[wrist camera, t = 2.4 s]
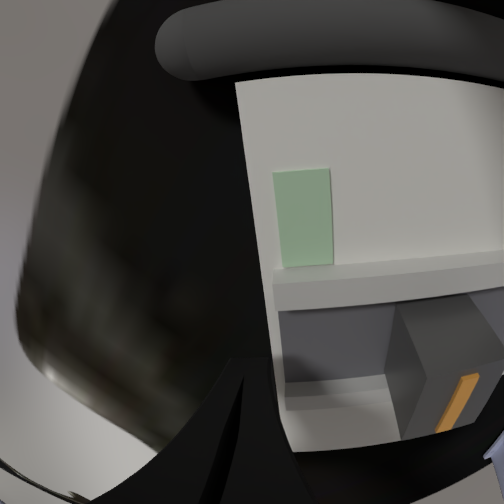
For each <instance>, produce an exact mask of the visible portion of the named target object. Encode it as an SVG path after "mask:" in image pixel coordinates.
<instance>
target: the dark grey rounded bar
mask: <svg viewBox="0 0 504 504" xmlns="http://www.w3.org/2000/svg"><path fill="white" fill-rule="evenodd" d="M155 52H156V56H157V59H158V61H159V63H160V64H161V66H162V67H163V68H164V69H165V70H166V71H167V72H168V73H169V74H171V75H173V76H175V77H177V78H179V79H183V80H189V81H197V80H205V79H211V78H216V77H222V76H228V75H234V74H240V73H247V72H255V71H263V70H272V69H282V68H293V67H307V66H328V65H377V66H398V67H412V68H423V69H432V70H440V71H448V72H455V73H461V74H467V75H473V76H478V77H483V78H488V79H493V80H497V81H502V82H504V20H503V19H500V18H497V17H494V16H491V15H488V14H485V13H482V12H478V11H475V10H471V9H468V8H464V7H460V6H456V5H452V4H448V3H443V2H439V1H434V0H222V1H217V2H212V3H207V4H203V5H198V6H194V7H190V8H186V9H184V10H181V11H179V12H177V13H175V14H173V15H172V16H170V17H169V18H168V19H167V20H166V21H165V22H164V23H163V25H162V26H161V27H160V29H159V31H158V33H157V36H156V41H155Z"/></svg>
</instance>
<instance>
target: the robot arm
mask: <svg viewBox="0 0 504 504" xmlns="http://www.w3.org/2000/svg"><path fill="white" fill-rule="evenodd" d="M483 457H484V459H487V458H489V457H491V459H492V462H493V465H494V468H495V471H496V475H497V478H498V481H499V484H500V489H501V492H502V496H503V499H504V431H503V432H502V433H501V435H500V436H499V437H498V438H497V440H496V441H495V442H494V443H493V445H492V446H491V447H490V448H489V449H488V451H487V452H486V453H485V454H484V455H483ZM0 504H5V503H4V502H3V501H1V500H0ZM86 504H319V503H318V501H317V500H316V498H315V496H314V494H313V492H312V490H311V489H310V487H309V485H308V483H307V481H306V479H305V477H304V475H303V473H302V471H301V469H300V467H299V465H298V463H297V461H296V458H295V456H294V454H293V451H292V449H291V447H290V444H289V441H288V439H287V436H286V433H285V430H284V428H283V425H282V422H281V418H280V415H279V412H278V408H277V404H276V388H275V381H274V373H273V366H272V360H271V359H270V358H268V357H257V358H230V359H229V360H228V362H227V364H226V366H225V368H224V369H223V371H222V373H221V375H220V376H219V378H218V380H217V381H216V383H215V384H214V386H213V387H212V389H211V391H210V392H209V393H208V395H207V396H206V398H205V399H204V401H203V402H202V404H201V405H200V406H199V408H198V409H197V411H196V412H195V413H194V414H193V416H192V417H191V418H190V419H189V421H188V422H187V423H186V424H185V426H184V427H183V428H182V429H181V430H180V432H179V433H178V434H177V435H176V436H175V437H174V438H173V439H172V440H171V441H170V442H169V443H168V444H167V445H166V447H165V448H164V449H163V450H161V451H160V452H159V453H158V454H157V455H156V456H155V457H154V458H153V459H152V460H151V461H149V462H148V463H147V464H146V465H145V466H144V467H142V468H141V469H140V470H138V471H137V472H136V473H134V474H133V475H132V476H130V477H129V478H127V479H126V480H125V481H123V482H122V483H120V484H119V485H118V486H116V487H114V488H113V489H111V490H110V491H108V492H106V493H104V494H102V495H101V496H99V497H97V498H95V499H93V500H91V501H90V502H88V503H86Z"/></svg>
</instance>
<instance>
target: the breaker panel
mask: <svg viewBox="0 0 504 504" xmlns="http://www.w3.org/2000/svg"><path fill="white" fill-rule="evenodd" d="M235 87H236V94H237V101H238V108H239V115H240V122H241V129H242V136H243V143H244V150H245V157H246V164H247V171H248V178H249V186H250V193H251V200H252V207H253V215H254V222H255V229H256V236H257V244H258V251H259V259H260V266H261V273H262V281H263V288H264V296H265V303H266V311H267V318H268V326H269V334H270V341H271V349H272V357H273V364H274V372H275V380H276V387H277V395H278V403H279V411H280V418H281V422H282V425H283V428H284V430H285V433H286V436H287V439H288V441H289V444H290V447H291V449H292V451H293V452H306V451H323V450H335V449H346V448H355V447H363V446H370V445H377V444H383V443H389V442H395V441H400V440H401V439H400V434H399V429H398V425H397V421H396V416H395V412H394V408H393V404H392V400H391V396H390V392H389V388H388V384H387V380H386V376H385V373H384V367H385V362H386V357H387V352H388V347H389V341H390V336H391V330H392V324H393V318H394V311H395V304H396V303H398V302H407V301H415V300H423V299H431V298H438V297H446V296H453V295H459V294H466V293H467V294H468V295H469V297H470V298H471V299H472V301H473V302H474V303H475V305H476V306H477V308H478V309H479V310H480V312H481V313H482V314H483V316H484V317H485V319H486V320H487V322H488V323H489V324H490V326H491V327H492V329H493V330H494V332H495V333H496V335H497V336H498V338H499V339H500V341H501V342H502V344H503V345H504V89H502V88H497V87H492V86H487V85H482V84H477V83H471V82H465V81H458V80H451V79H443V78H434V77H425V76H413V75H398V74H372V73H341V74H314V75H298V76H286V77H276V78H266V79H258V80H250V81H243V82H236V83H235ZM503 374H504V371H503V373H502V375H503Z"/></svg>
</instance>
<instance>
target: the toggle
mask: <svg viewBox="0 0 504 504" xmlns="http://www.w3.org/2000/svg"><path fill="white" fill-rule="evenodd" d="M503 371H504V345H503V344H502V342H501V341H500V339H499V338H498V336H497V335H496V333H495V332H494V330H493V329H492V327H491V326H490V324H489V323H488V322H487V320H486V319H485V317H484V316H483V314H482V313H481V312H480V310H479V309H478V308H477V306H476V305H475V303H474V302H473V301H472V299H471V298H470V297H469V295H468V294H467V293H466V294H459V295H453V296H446V297H438V298H431V299H423V300H415V301H407V302H398V303H396V304H395V311H394V318H393V324H392V330H391V336H390V341H389V347H388V352H387V357H386V362H385V367H384V373H385V376H386V380H387V384H388V388H389V392H390V396H391V400H392V404H393V408H394V412H395V416H396V421H397V425H398V429H399V434H400V439H401V441H403V440H408V439H413V438H417V437H422V436H426V435H430V434H435V433H439V432H443V431H447V430H450V429H454V428H457V427H460V426H464V425H467V424H470V423H473V422H475V420H476V418H477V417H478V415H479V414H480V412H481V411H482V409H483V407H484V406H485V404H486V402H487V401H488V399H489V397H490V395H491V394H492V392H493V390H494V388H495V386H496V385H497V383H498V381H499V379H500V377H501V375H502V373H503Z"/></svg>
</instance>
